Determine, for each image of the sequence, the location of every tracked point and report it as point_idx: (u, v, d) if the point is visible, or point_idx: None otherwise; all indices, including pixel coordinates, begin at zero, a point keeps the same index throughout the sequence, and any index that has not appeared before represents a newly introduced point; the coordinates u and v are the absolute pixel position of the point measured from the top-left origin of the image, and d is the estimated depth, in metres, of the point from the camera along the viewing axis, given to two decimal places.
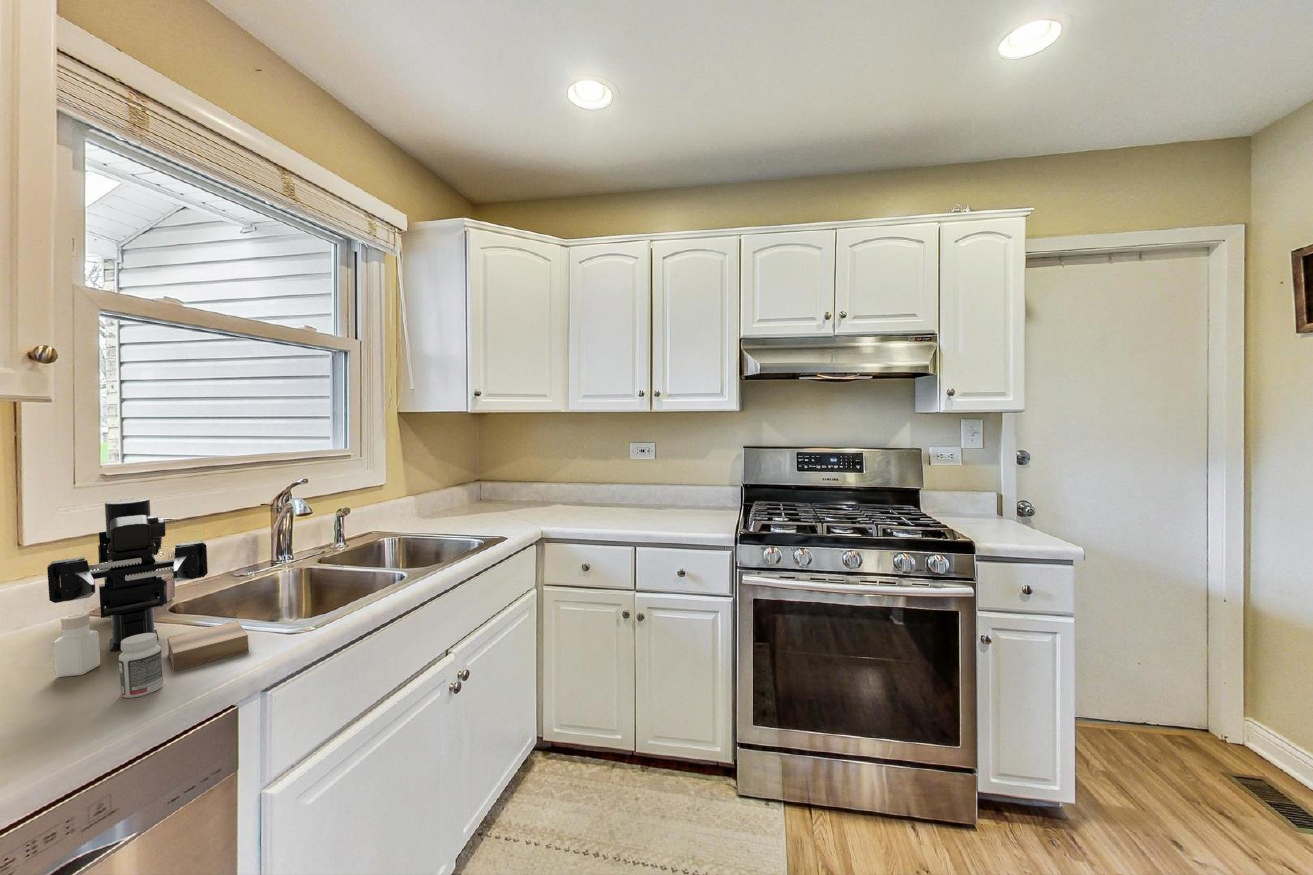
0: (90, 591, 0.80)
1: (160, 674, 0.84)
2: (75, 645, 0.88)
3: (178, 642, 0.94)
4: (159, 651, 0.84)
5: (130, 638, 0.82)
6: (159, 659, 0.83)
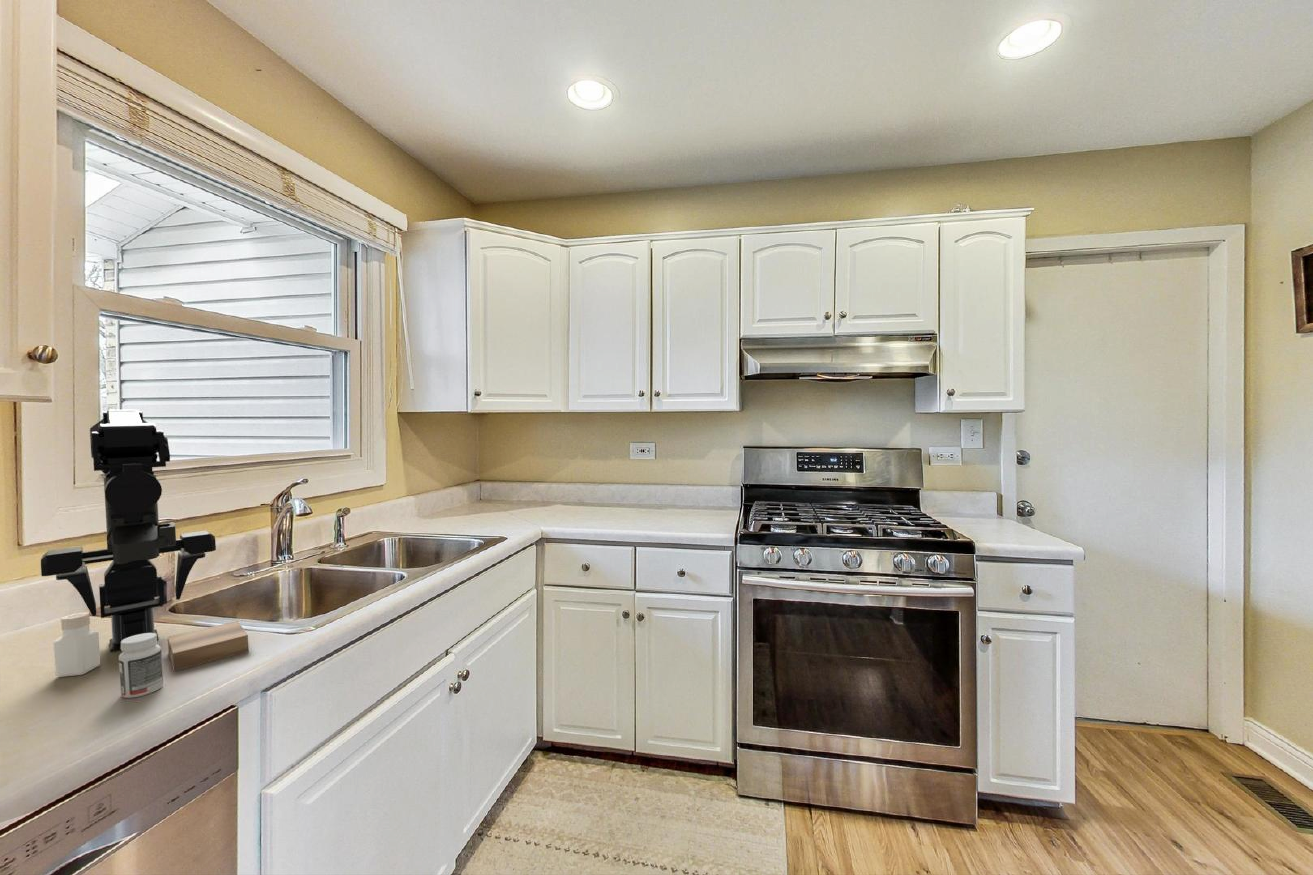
0: None
1: (160, 674, 0.84)
2: (75, 645, 0.88)
3: (178, 642, 0.94)
4: (159, 651, 0.84)
5: (130, 638, 0.82)
6: (159, 659, 0.83)
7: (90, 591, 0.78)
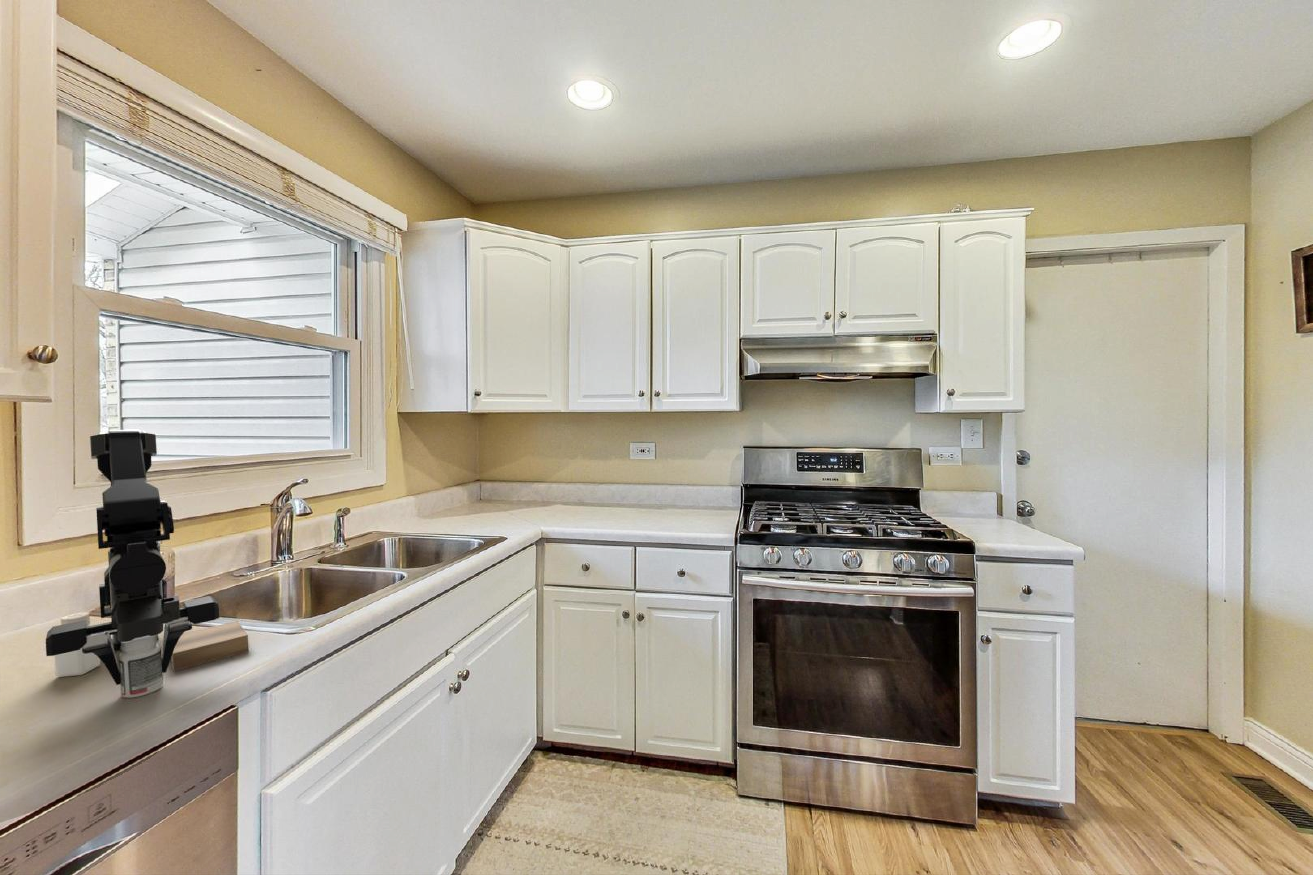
0: None
1: (160, 674, 0.84)
2: None
3: (178, 642, 0.94)
4: (159, 651, 0.84)
5: None
6: (159, 659, 0.83)
7: (114, 661, 0.80)
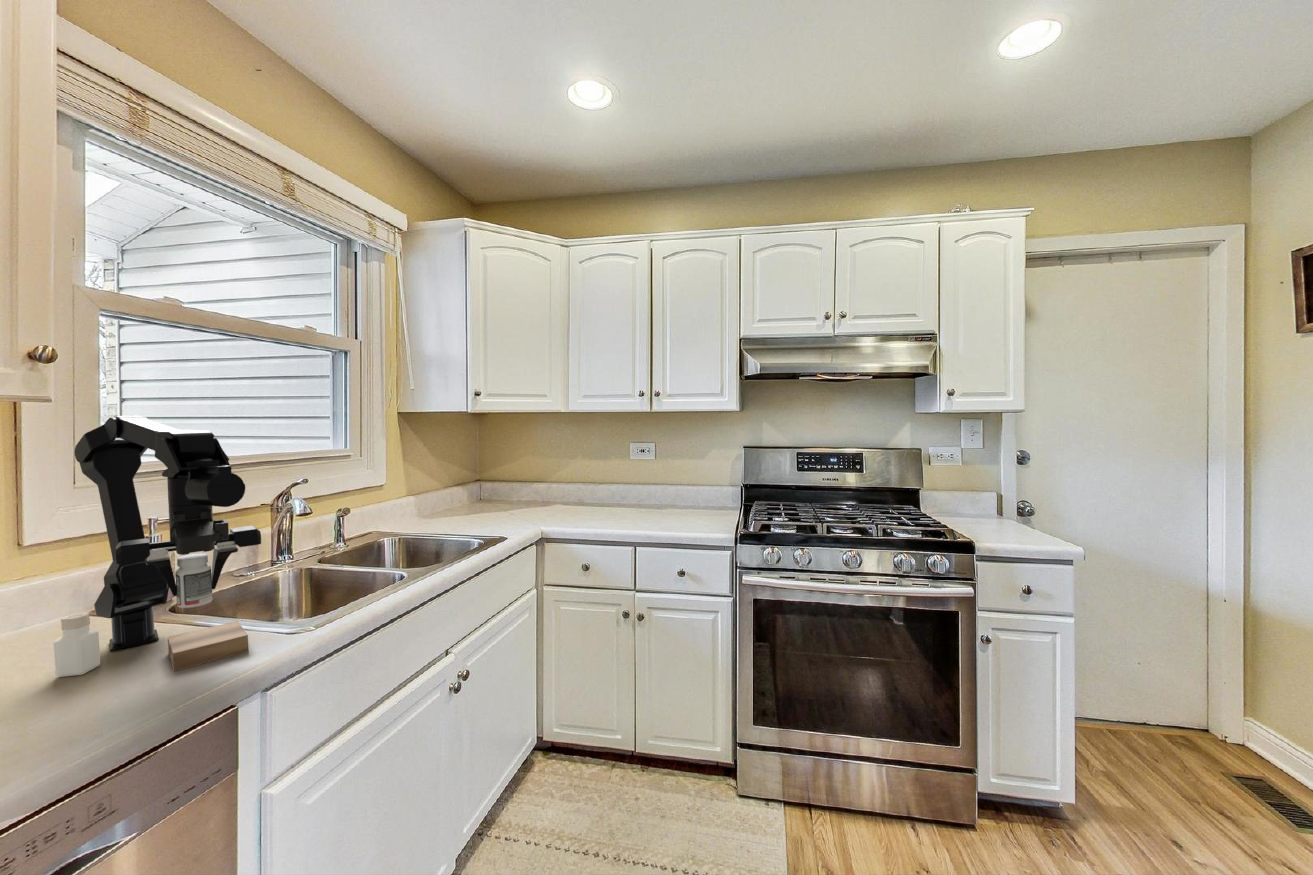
0: None
1: (210, 590, 0.94)
2: (75, 645, 0.88)
3: (178, 642, 0.94)
4: (209, 569, 0.94)
5: (185, 556, 0.93)
6: (209, 576, 0.94)
7: (172, 575, 0.91)
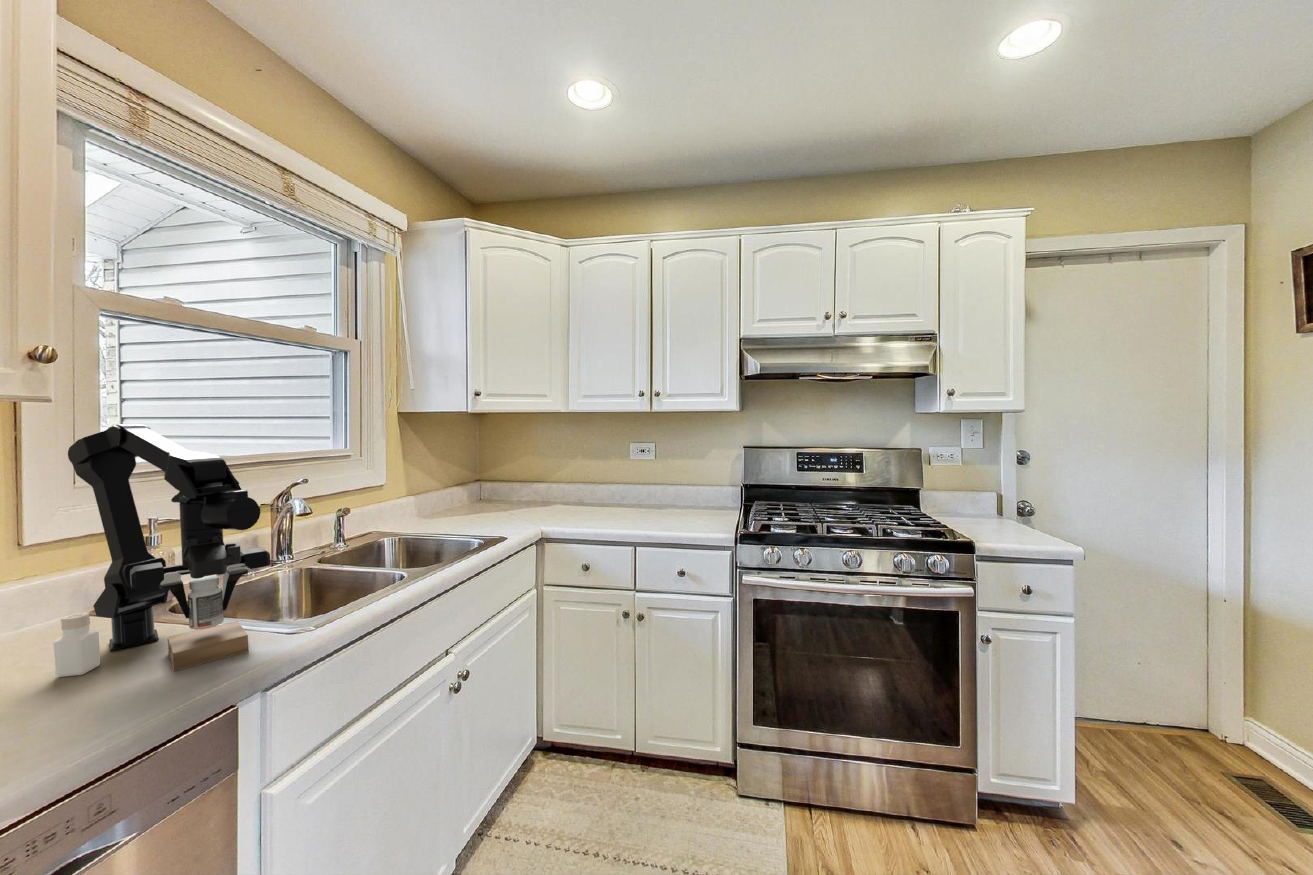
0: None
1: (221, 611, 0.97)
2: (75, 645, 0.88)
3: (178, 642, 0.94)
4: (221, 591, 0.97)
5: (197, 579, 0.95)
6: (221, 598, 0.97)
7: (185, 598, 0.93)
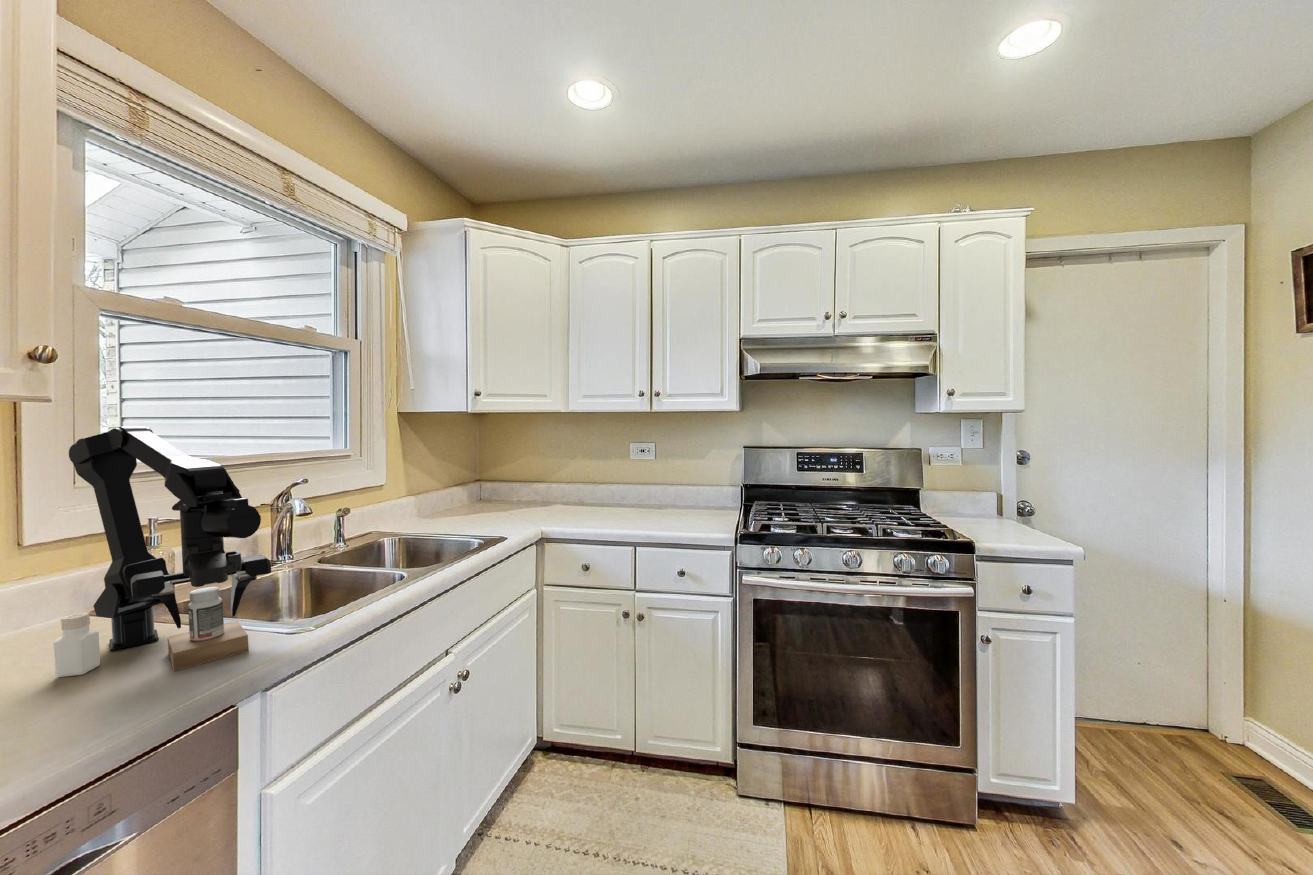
0: None
1: (222, 622, 0.97)
2: (75, 645, 0.88)
3: (178, 642, 0.94)
4: (221, 602, 0.97)
5: (197, 590, 0.96)
6: (221, 609, 0.97)
7: (176, 608, 0.92)
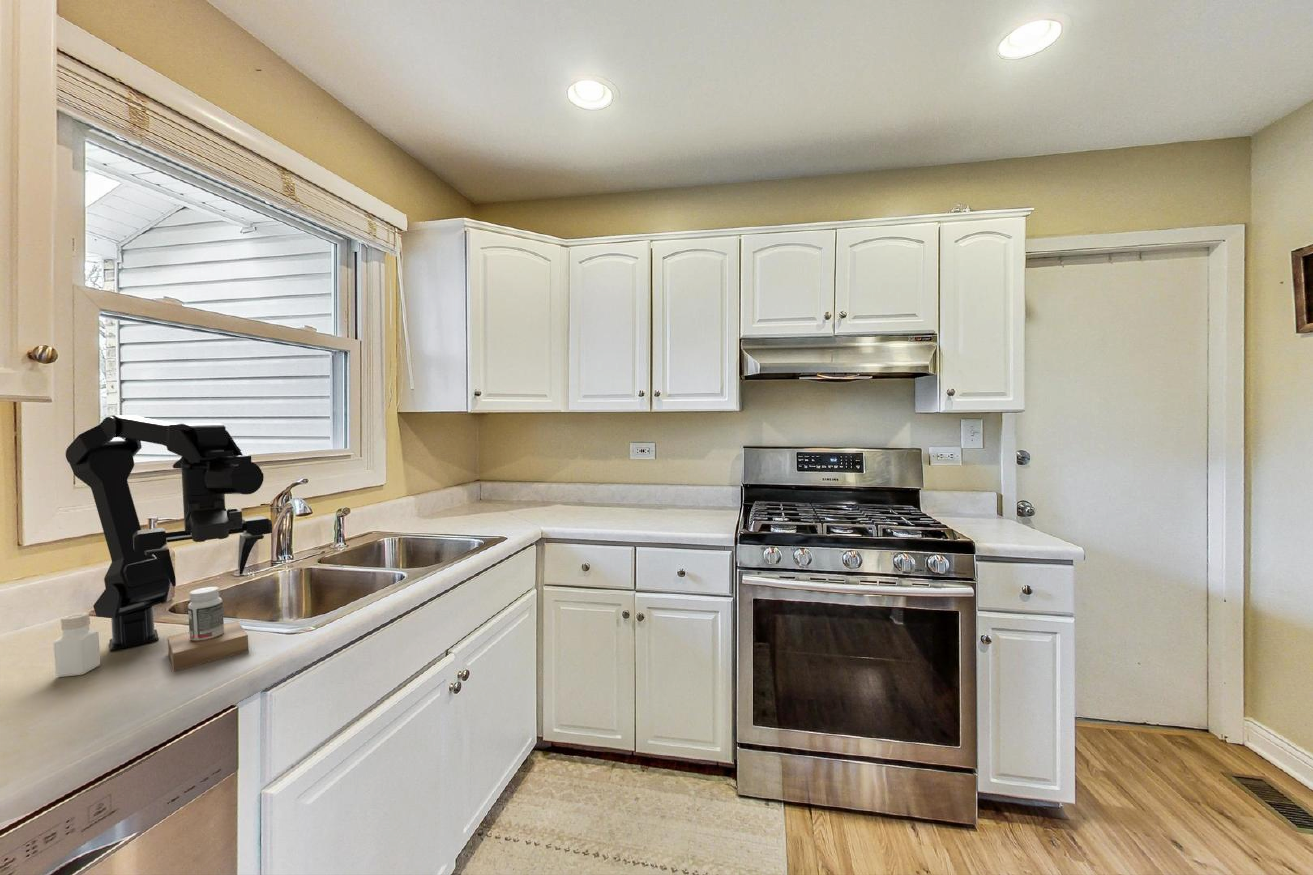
0: None
1: (222, 622, 0.97)
2: (75, 645, 0.88)
3: (178, 642, 0.94)
4: (221, 602, 0.97)
5: (197, 590, 0.96)
6: (221, 609, 0.97)
7: (171, 565, 0.92)
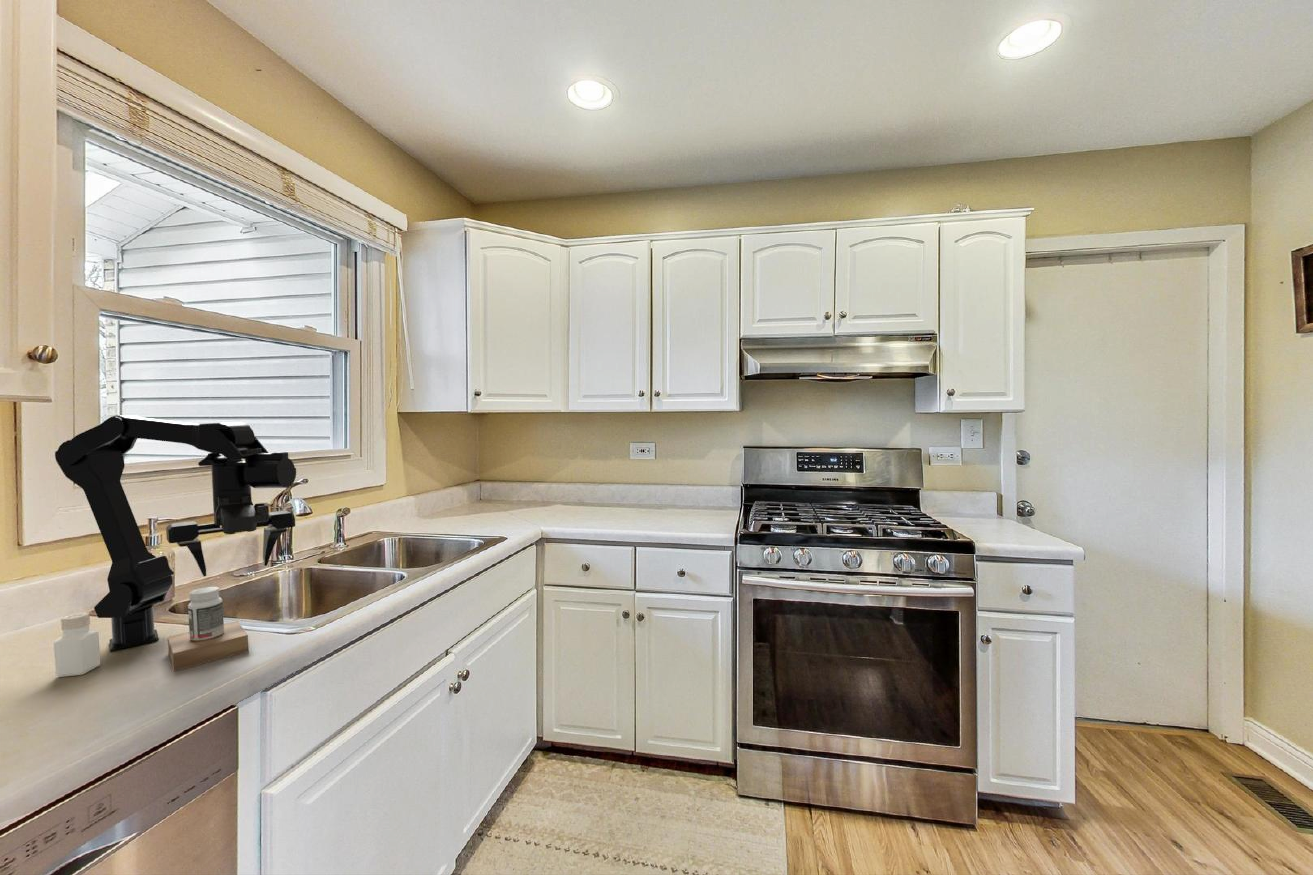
0: (202, 573, 0.99)
1: (222, 622, 0.97)
2: (75, 645, 0.88)
3: (178, 642, 0.94)
4: (221, 602, 0.97)
5: (197, 590, 0.96)
6: (221, 609, 0.97)
7: (202, 556, 0.98)
